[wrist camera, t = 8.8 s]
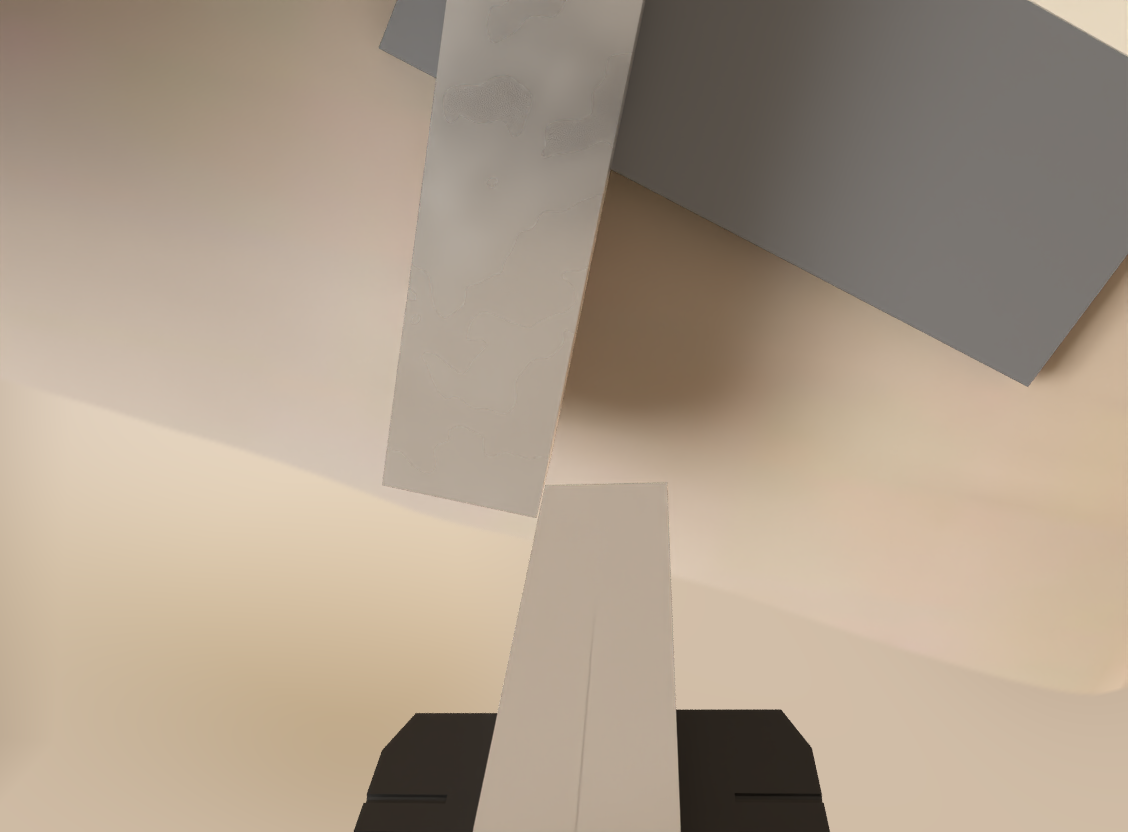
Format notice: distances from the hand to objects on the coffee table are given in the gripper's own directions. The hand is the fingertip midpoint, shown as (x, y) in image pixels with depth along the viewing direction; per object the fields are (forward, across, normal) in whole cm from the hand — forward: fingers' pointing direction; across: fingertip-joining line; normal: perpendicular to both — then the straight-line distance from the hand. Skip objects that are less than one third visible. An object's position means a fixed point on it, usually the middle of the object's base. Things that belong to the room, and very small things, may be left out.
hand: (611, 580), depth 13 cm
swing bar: (+16, -2, +5) cm, 17 cm away
